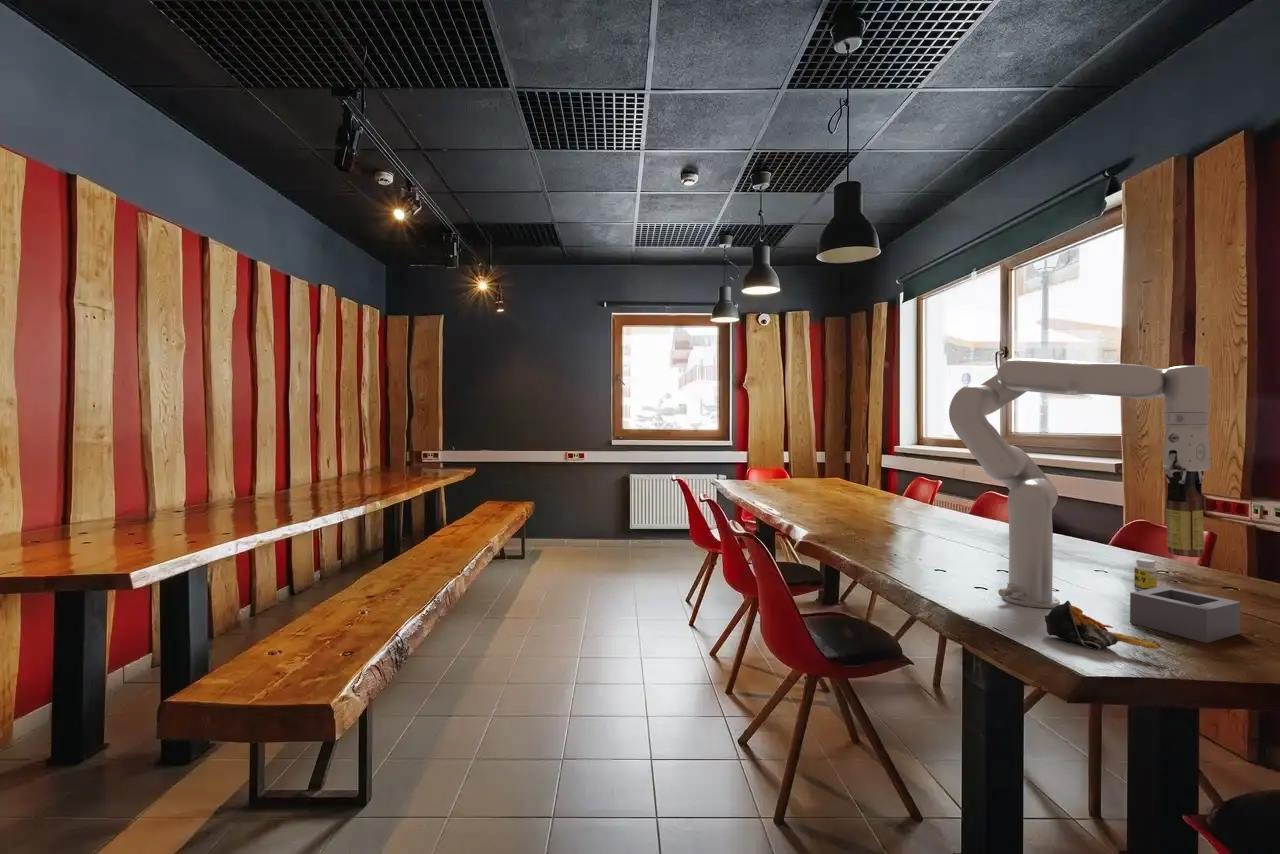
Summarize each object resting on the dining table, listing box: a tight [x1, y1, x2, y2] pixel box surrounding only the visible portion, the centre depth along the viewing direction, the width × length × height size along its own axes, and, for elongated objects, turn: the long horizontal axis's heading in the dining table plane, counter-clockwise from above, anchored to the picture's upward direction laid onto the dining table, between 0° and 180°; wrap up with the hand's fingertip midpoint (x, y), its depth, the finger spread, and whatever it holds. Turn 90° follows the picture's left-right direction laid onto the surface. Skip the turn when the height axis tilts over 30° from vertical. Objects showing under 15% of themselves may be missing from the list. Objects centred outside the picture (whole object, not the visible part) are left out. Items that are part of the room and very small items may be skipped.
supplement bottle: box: [1133, 557, 1158, 591], centre depth 166 cm, size 5×5×8 cm
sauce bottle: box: [1165, 467, 1205, 558], centre depth 135 cm, size 6×6×20 cm
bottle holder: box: [1129, 585, 1241, 644], centre depth 135 cm, size 14×14×7 cm
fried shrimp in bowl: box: [1043, 600, 1162, 650], centre depth 124 cm, size 9×11×18 cm
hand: (1184, 499), depth 135 cm, fingers closed on sauce bottle, 5 cm apart
